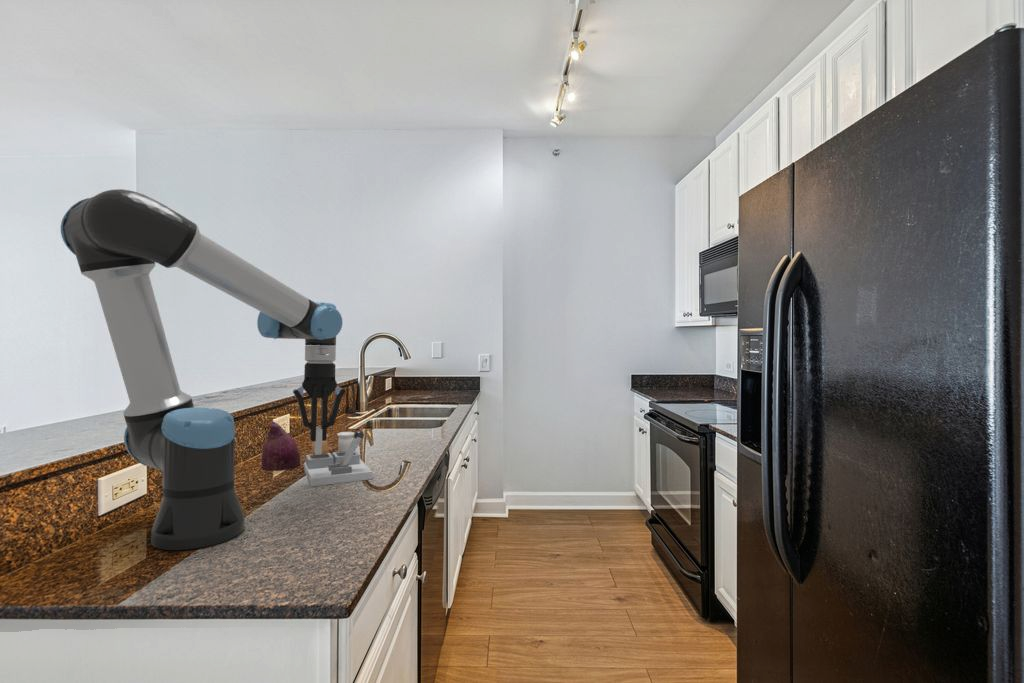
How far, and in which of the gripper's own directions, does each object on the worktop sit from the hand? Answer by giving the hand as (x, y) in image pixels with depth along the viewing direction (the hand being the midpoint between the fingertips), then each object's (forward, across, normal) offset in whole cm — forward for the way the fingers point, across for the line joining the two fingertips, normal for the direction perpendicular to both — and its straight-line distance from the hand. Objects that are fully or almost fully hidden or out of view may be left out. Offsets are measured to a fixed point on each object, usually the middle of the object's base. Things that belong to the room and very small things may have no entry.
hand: (318, 453), depth 134 cm
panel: (+7, +6, +5) cm, 11 cm away
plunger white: (+2, +9, +9) cm, 13 cm away
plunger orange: (+2, +2, +9) cm, 10 cm away
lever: (+5, +6, 0) cm, 8 cm away
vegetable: (+8, -7, +21) cm, 24 cm away
